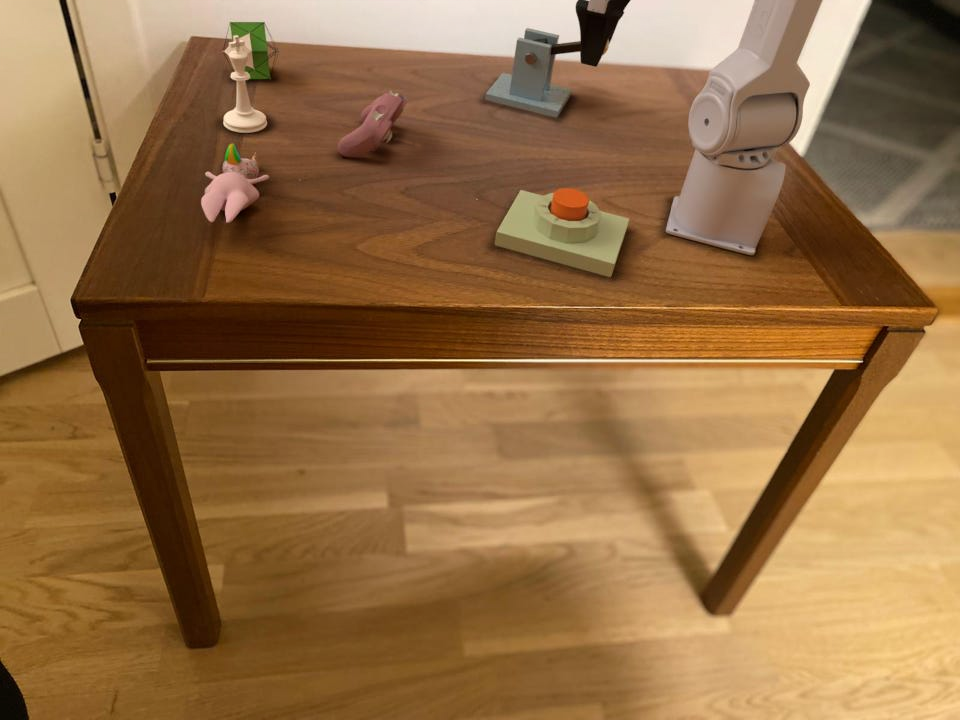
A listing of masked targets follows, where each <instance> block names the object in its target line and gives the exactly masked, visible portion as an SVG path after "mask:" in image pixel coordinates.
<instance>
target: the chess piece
mask: <svg viewBox="0 0 960 720" xmlns="http://www.w3.org/2000/svg"><path fill="white" fill-rule="evenodd" d="M233 39H234V42H232V41H229V42H228V46H229V47H230V48H235V51H232V52H230V53H229V56H228V58H229V62H231V63H230V64H231V66H232V68H233V70H234V72H233V71H232V72H231V73H230V77H229V78H231V79H232V80H233V81H235V82H236V98H235V99H236V101H235V103H236V104H235V107H234V108H233V109H230V110H229V111H227V112H226V113H225V114H224V115H223V119H222V120H223V126H224V127H225V128H226V129H227V130H229V131H232V132H234V133H241V134H251V133H256V132H260V131H262V130H264V129H265V128H266V127H267V125H268V121H267V116H266V115H265V114H264V113H263V112H262V111H260V110H258V109H255V108H254V107H252V104H251V101H250V96H249V92H248V88H247V87H248V86H247V83H246V82H247V81H248V80H251V79H250V75H249V73H248V72H245V71H244V70H245V67H246V61H247V57H248V55H247V53H245V52H243V51H240V46H245V41H243V40H241V41H239V36H237V35H235V36H233Z"/></svg>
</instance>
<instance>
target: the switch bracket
mask: <svg viewBox="0 0 960 720" xmlns="http://www.w3.org/2000/svg"><path fill="white" fill-rule="evenodd" d="M545 38H547V41H548V44H545V43H541V42H536V41H532V40H537V39H545ZM559 38H560V35H559V34H555V33H551V32H547V31H542V30H538V29H533V28H529V27H527V28H526V29H525V30H524V35H523V37H518V38H517V39H516V44H515V50H514V57H513V65H512V72H511V74H510V73H506V72H502V73H501V74H500V76H499V77H498V78H497V79H496V80H495V82H494V83H493V84H492V85H491V86H490V88H489V89H488V90H487V91H486V93H485V95H484V96H485V97H484V100H485V101H489V102H493V103H496V104H501V105H505V106H509V107H512V108H517V109H521V110H525V111H529V112H533V113H537V114H541V115H546V116H549V117H553V118H559V116H560V114H561V112H562V111H563V109H564V107H565V106H566V103H567V102H568V100H569V99H570V97H571V95H572V88H568V87H565V86H561V85H556V84H552V79H553V73H554V67H555V61H556V55H557V54H555V55H550V54H551V48H552V44H559Z"/></svg>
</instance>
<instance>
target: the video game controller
mask: <svg viewBox="0 0 960 720" xmlns="http://www.w3.org/2000/svg"><path fill="white" fill-rule="evenodd" d="M407 102H408V100H407V98H405V97H404V96H403V95H401V94H399V93H398V92H396V93H395V92H393V91H392V90H391V89H390V90H389V91H388V92H386V93H384V94H383V95H379V96H378V97H377V98H375V99H374V100H373V102H372V103H371V104H369V105H367V106H366V107H365V108H364V109H363V110H362V112H361V114H360V120H361V122H362V124H361V125H360V126H358V128H356V129H354V130H353V131H351V132H349V133H348V134H345V135H344V136H343V137H341V139H340V140H339V141H338V143H337V151H338V153H339V155H341V156H342V157H345V158H357V157H360V156H363V155H365V154H367V153H368V152H370V151H371V152H373V153H375V152H376V150H377V149H378V147H379V146H380V144H381V143H382V142H385V143H386V144H387V143H389V142H390V141H391V139H392V138H393V133H392V130H391V128H392V127H393V125H394V123H395V122H396V121H397V120H398V119H399V118H400V117H401V116H402V114H403V112H404V108H405V106H406V104H407Z"/></svg>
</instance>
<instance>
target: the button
mask: <svg viewBox="0 0 960 720" xmlns="http://www.w3.org/2000/svg"><path fill="white" fill-rule="evenodd" d="M553 193H554V194H553V199H552V203H551V208H550V211H551V213H552V214H553V215H554V216H556V217H557V218H559V219H563V220H567V221H581V220H583V219H584V218H585V216H586V212H587V208H588V204H589V200H590V198H589V197H588V196H587V194H586V193H584V192H583V191H580V190H579V189H574V188H570V187H565V188H564V187H563V188H559V189H556V190H555V191H554V192H553Z"/></svg>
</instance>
